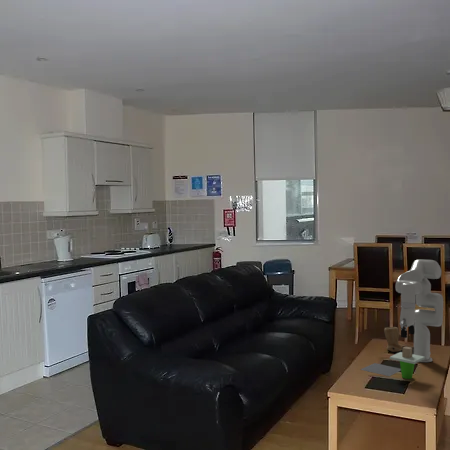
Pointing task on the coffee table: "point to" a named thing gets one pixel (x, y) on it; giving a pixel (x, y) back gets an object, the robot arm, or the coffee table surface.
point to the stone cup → (392, 339)
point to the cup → (406, 369)
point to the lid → (407, 356)
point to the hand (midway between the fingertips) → (407, 335)
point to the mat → (381, 369)
